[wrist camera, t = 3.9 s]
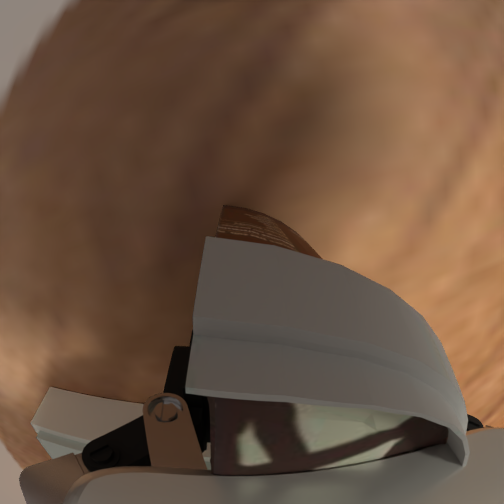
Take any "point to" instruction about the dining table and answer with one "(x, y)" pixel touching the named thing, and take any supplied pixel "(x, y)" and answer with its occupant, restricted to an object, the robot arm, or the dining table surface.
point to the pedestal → (82, 421)
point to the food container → (311, 359)
